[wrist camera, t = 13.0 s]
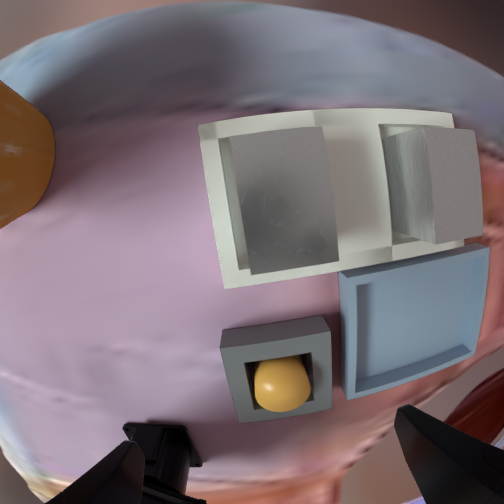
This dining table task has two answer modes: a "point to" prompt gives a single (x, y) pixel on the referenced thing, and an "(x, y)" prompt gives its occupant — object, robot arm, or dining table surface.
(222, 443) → the dining table surface
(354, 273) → the tray
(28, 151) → the flower pot
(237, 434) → the dining table surface
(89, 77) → the dining table surface
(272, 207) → the block
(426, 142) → the billet
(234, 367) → the grey square frame
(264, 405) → the button
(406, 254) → the white divided tray
